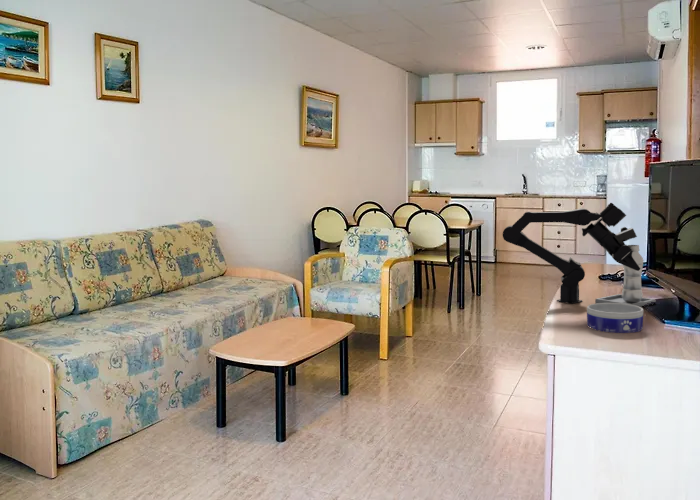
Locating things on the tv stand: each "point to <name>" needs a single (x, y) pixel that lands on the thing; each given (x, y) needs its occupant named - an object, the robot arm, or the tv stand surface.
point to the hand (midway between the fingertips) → (637, 268)
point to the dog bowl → (615, 317)
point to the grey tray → (619, 299)
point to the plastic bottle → (633, 278)
